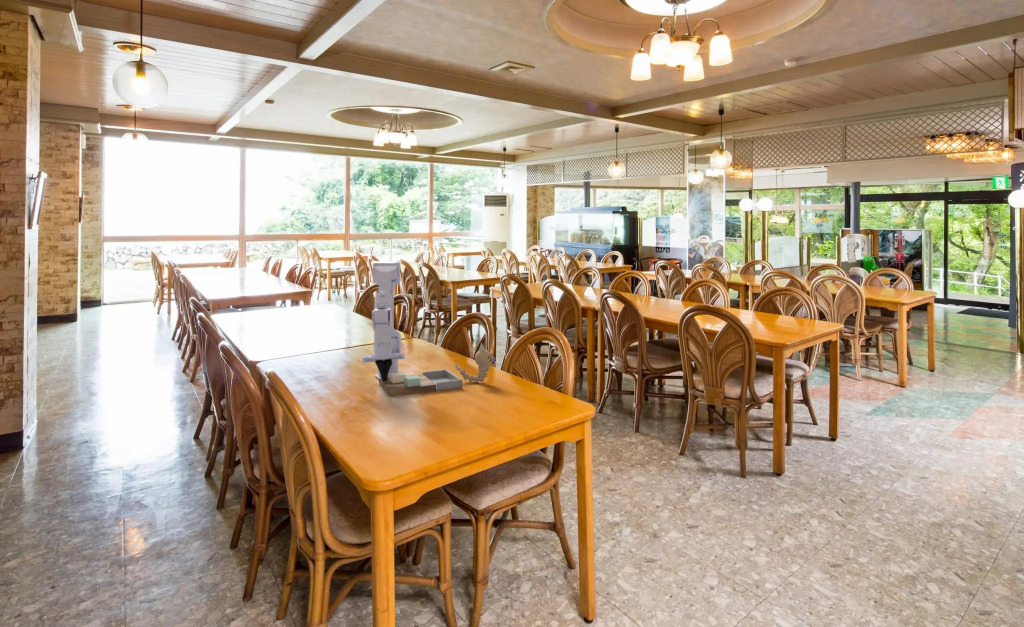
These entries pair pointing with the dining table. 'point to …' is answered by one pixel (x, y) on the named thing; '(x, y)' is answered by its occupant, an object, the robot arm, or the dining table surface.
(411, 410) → the dining table surface
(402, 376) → the tile
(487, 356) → the toy
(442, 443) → the dining table surface
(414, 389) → the board
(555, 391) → the dining table surface
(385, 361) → the robot arm
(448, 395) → the dining table surface
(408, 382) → the grey-green block
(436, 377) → the tray
